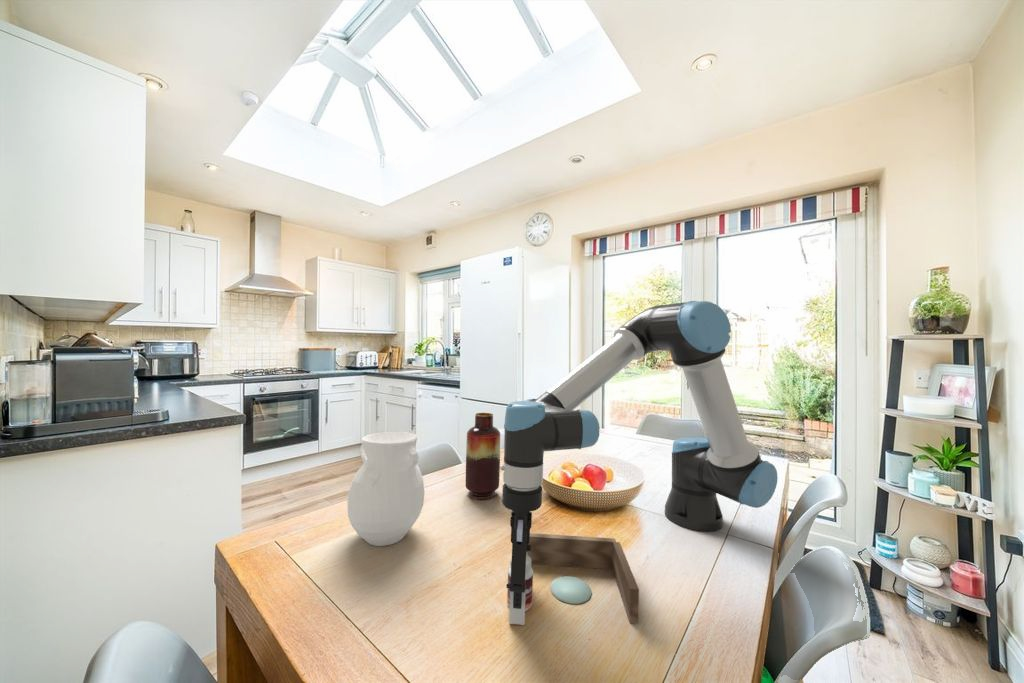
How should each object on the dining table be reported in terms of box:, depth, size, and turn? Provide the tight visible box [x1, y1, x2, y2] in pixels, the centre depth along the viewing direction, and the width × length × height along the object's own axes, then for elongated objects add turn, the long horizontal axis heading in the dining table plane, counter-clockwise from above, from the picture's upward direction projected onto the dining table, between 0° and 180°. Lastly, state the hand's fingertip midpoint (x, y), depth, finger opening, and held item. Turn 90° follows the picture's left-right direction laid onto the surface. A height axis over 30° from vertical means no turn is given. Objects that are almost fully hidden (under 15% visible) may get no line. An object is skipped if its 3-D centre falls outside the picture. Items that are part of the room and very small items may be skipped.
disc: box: [550, 575, 592, 605], centre depth 75 cm, size 8×8×1 cm
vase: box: [465, 412, 501, 501], centre depth 122 cm, size 11×11×26 cm
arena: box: [526, 532, 640, 624], centre depth 76 cm, size 21×18×6 cm
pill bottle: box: [506, 555, 534, 612], centre depth 71 cm, size 5×5×8 cm
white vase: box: [347, 430, 425, 547], centre depth 94 cm, size 19×18×25 cm
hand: (518, 602), depth 71 cm, fingers open, 10 cm apart
